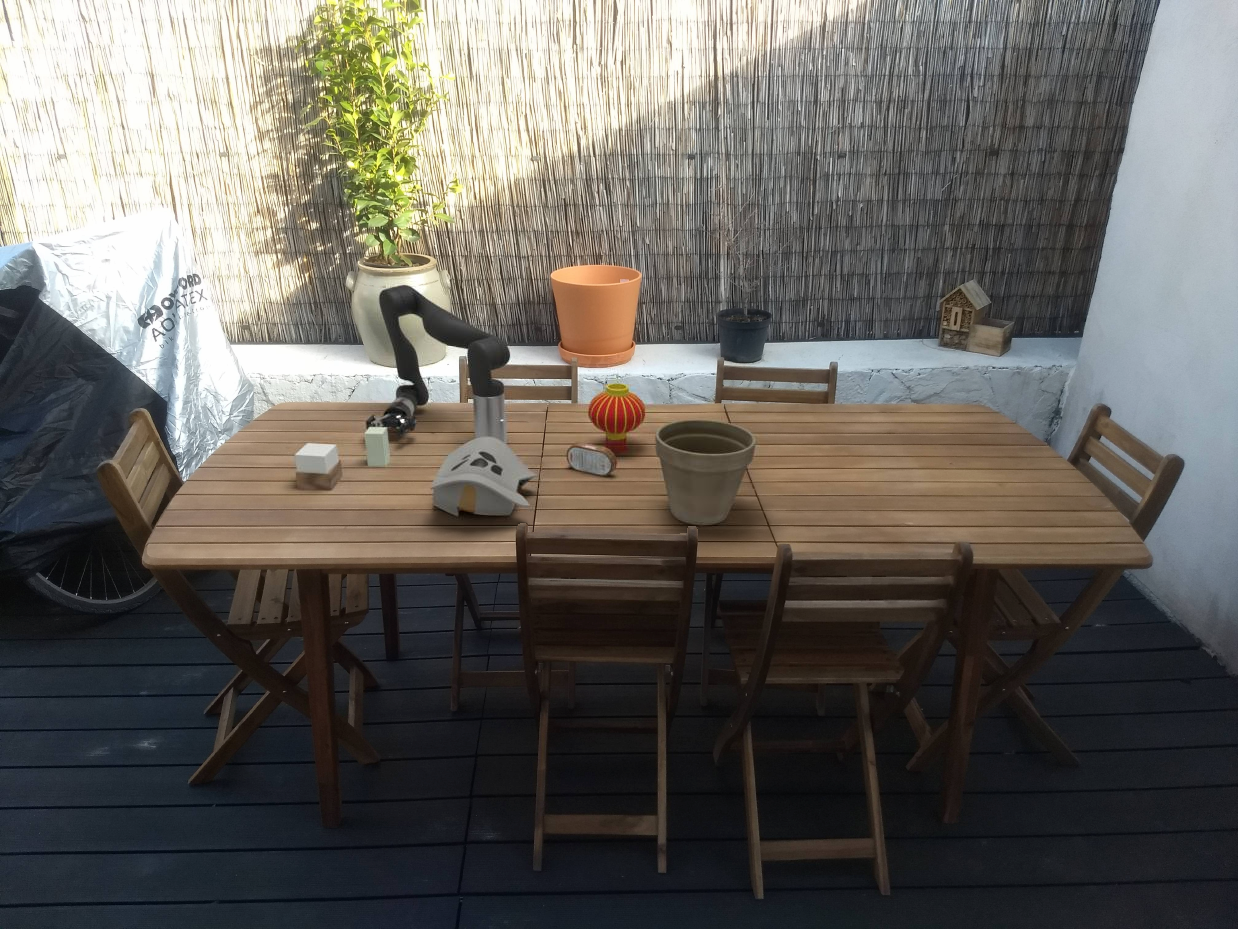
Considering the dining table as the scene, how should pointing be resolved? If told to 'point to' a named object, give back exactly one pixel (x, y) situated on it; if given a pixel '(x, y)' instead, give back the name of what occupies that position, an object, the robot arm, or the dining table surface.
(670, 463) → the plant pot
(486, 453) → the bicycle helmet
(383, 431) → the block
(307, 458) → the tower top
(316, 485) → the tower bottom
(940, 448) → the dining table surface
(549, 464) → the dining table surface
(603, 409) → the lantern
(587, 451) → the tin
